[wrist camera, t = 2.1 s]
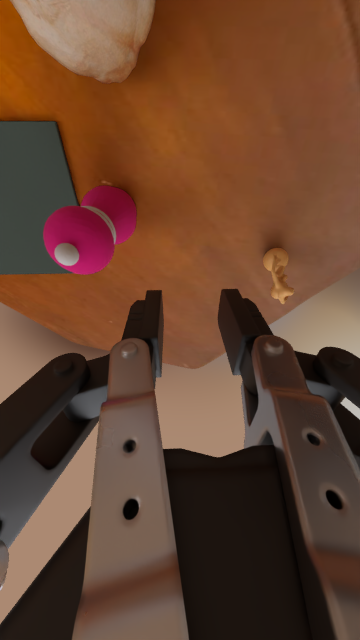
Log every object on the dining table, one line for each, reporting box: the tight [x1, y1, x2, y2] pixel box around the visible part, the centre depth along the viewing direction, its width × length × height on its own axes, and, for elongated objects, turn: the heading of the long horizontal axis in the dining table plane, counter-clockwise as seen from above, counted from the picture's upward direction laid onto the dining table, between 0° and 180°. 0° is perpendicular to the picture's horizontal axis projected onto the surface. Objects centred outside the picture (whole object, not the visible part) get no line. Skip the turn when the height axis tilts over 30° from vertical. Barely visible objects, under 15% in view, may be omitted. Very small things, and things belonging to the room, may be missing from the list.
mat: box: [0, 121, 96, 274], centre depth 31 cm, size 20×20×1 cm
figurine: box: [263, 248, 294, 304], centre depth 33 cm, size 8×6×12 cm
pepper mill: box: [43, 186, 137, 274], centre depth 24 cm, size 7×7×20 cm
